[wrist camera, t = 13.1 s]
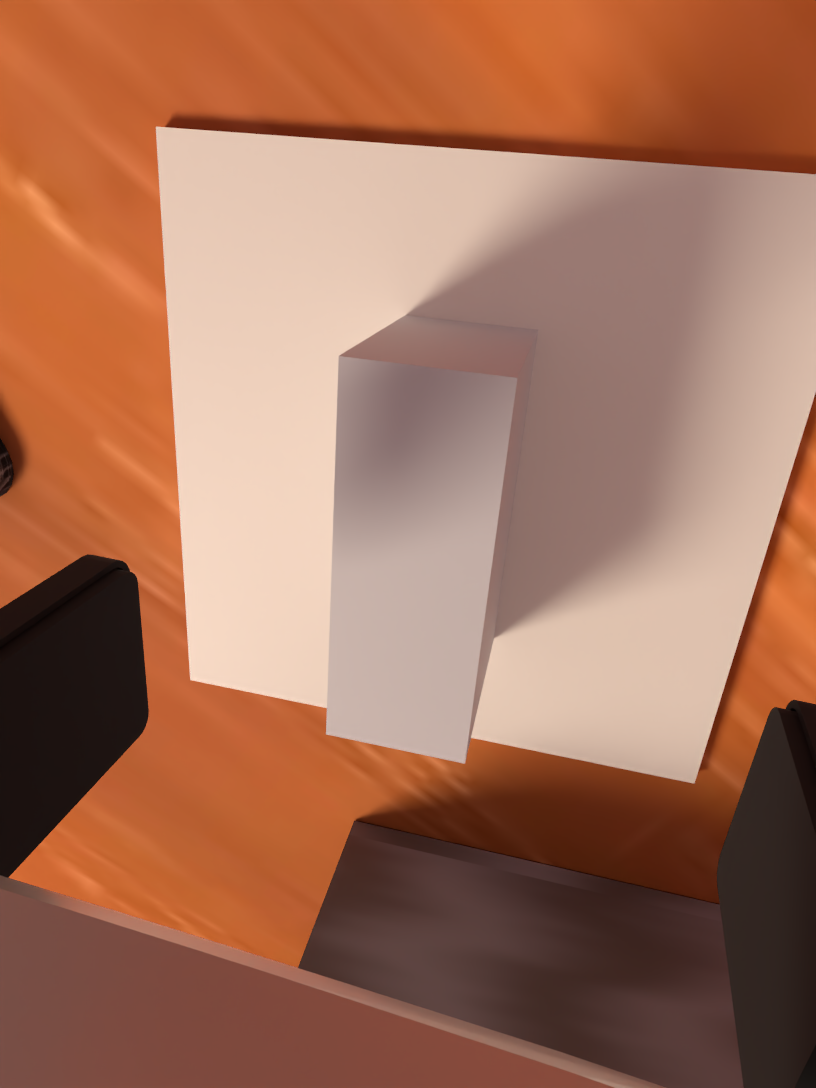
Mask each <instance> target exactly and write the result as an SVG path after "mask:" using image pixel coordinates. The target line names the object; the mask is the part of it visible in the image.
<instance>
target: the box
mask: <svg viewBox="0 0 816 1088" xmlns="http://www.w3.org/2000/svg"><path fill="white" fill-rule="evenodd" d="M298 968H299V969H302V970H306V971H309V972H312V973H315V974H318V975H322V976H325V977H328V978H331V979H334V980H337V981H341V982H344V983H347V984H350V985H353V986H356V987H359V988H363V989H366V990H369V991H372V992H375V993H378V994H381V995H384V996H388V997H391V998H394V999H397V1000H400V1001H403V1002H406V1003H409V1004H412V1005H416V1006H419V1007H422V1008H425V1009H428V1010H431V1011H434V1012H437V1013H441V1014H444V1015H447V1016H450V1017H453V1018H456V1019H459V1020H462V1021H466V1022H469V1023H472V1024H475V1025H478V1026H481V1027H484V1028H487V1029H491V1030H494V1031H497V1032H500V1033H503V1034H506V1035H509V1036H512V1037H516V1038H519V1039H522V1040H525V1041H528V1042H531V1043H534V1044H537V1045H541V1046H544V1047H547V1048H550V1049H553V1050H556V1051H559V1052H562V1053H565V1054H568V1055H571V1056H574V1057H577V1058H580V1059H583V1060H586V1061H589V1062H592V1063H595V1064H598V1065H601V1066H604V1067H607V1068H610V1069H613V1070H615V1071H618V1072H621V1073H624V1074H627V1075H630V1076H633V1077H636V1078H639V1079H642V1080H645V1081H648V1082H651V1083H654V1084H657V1085H660V1086H663V1087H666V1088H744V1087H743V1079H742V1071H741V1063H740V1056H739V1048H738V1040H737V1033H736V1025H735V1017H734V1010H733V1002H732V994H731V987H730V979H729V971H728V963H727V956H726V948H725V940H724V933H723V925H722V917H721V910H720V905H719V904H715V903H710V902H706V901H702V900H697V899H693V898H688V897H684V896H680V895H675V894H671V893H667V892H662V891H658V890H654V889H649V888H645V887H641V886H636V885H632V884H628V883H623V882H619V881H615V880H610V879H606V878H602V877H597V876H593V875H589V874H584V873H580V872H576V871H571V870H567V869H563V868H558V867H554V866H550V865H545V864H541V863H536V862H532V861H528V860H523V859H519V858H515V857H510V856H506V855H502V854H497V853H493V852H489V851H484V850H480V849H476V848H471V847H467V846H463V845H458V844H454V843H450V842H445V841H441V840H437V839H432V838H428V837H424V836H419V835H415V834H411V833H406V832H402V831H398V830H393V829H389V828H385V827H380V826H376V825H371V824H367V823H363V822H358V821H354V823H353V826H352V828H351V831H350V833H349V836H348V839H347V841H346V844H345V846H344V849H343V852H342V854H341V857H340V860H339V862H338V865H337V867H336V870H335V873H334V875H333V878H332V880H331V883H330V886H329V888H328V891H327V894H326V896H325V899H324V901H323V904H322V907H321V909H320V912H319V914H318V917H317V920H316V922H315V925H314V927H313V930H312V933H311V935H310V938H309V941H308V943H307V946H306V948H305V951H304V954H303V956H302V959H301V961H300V964H299V967H298Z"/></svg>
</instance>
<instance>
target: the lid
mask: <svg viewBox="0 0 816 1088" xmlns="http://www.w3.org/2000/svg"><path fill="white" fill-rule="evenodd" d="M156 138H157V154H158V170H159V186H160V202H161V218H162V234H163V250H164V266H165V282H166V298H167V314H168V330H169V346H170V362H171V378H172V394H173V410H174V427H175V443H176V459H177V475H178V491H179V507H180V523H181V539H182V555H183V571H184V587H185V603H186V619H187V635H188V651H189V667H190V680H193V681H198V682H203V683H208V684H213V685H217V686H222V687H227V688H232V689H237V690H242V691H247V692H251V693H256V694H261V695H266V696H271V697H276V698H281V699H285V700H290V701H295V702H300V703H305V704H310V705H315V706H319V707H324V708H327V722H326V734H327V735H332V736H337V737H342V738H346V739H351V740H356V741H360V742H365V743H370V744H375V745H379V746H384V747H389V748H393V749H398V750H403V751H408V752H412V753H417V754H422V755H426V756H431V757H436V758H441V759H445V760H450V761H455V762H459V763H464V764H465V761H466V757H467V752H468V748H469V744H470V739H471V738H475V739H480V740H485V741H489V742H494V743H499V744H504V745H509V746H514V747H519V748H523V749H528V750H533V751H538V752H543V753H548V754H553V755H557V756H562V757H567V758H572V759H577V760H582V761H587V762H591V763H596V764H601V765H606V766H611V767H616V768H621V769H625V770H630V771H635V772H640V773H645V774H650V775H655V776H659V777H664V778H669V779H674V780H679V781H684V782H689V783H693V784H695V780H696V777H697V774H698V771H699V767H700V764H701V761H702V758H703V755H704V751H705V748H706V745H707V742H708V738H709V735H710V732H711V729H712V725H713V722H714V719H715V716H716V713H717V709H718V706H719V703H720V700H721V696H722V693H723V690H724V687H725V684H726V680H727V677H728V674H729V671H730V667H731V664H732V661H733V658H734V654H735V651H736V648H737V645H738V642H739V638H740V635H741V632H742V629H743V625H744V622H745V619H746V616H747V613H748V609H749V606H750V603H751V600H752V596H753V593H754V590H755V587H756V583H757V580H758V577H759V574H760V571H761V567H762V564H763V561H764V558H765V554H766V551H767V548H768V545H769V541H770V538H771V535H772V532H773V529H774V525H775V522H776V519H777V516H778V512H779V509H780V506H781V503H782V500H783V496H784V493H785V490H786V487H787V483H788V480H789V477H790V474H791V470H792V467H793V464H794V461H795V458H796V454H797V451H798V448H799V445H800V441H801V438H802V435H803V432H804V429H805V425H806V422H807V419H808V416H809V412H810V409H811V406H812V403H813V399H814V396H815V393H816V174H805V173H791V172H777V171H763V170H749V169H735V168H722V167H708V166H694V165H680V164H666V163H652V162H639V161H625V160H611V159H597V158H583V157H569V156H556V155H542V154H528V153H514V152H500V151H486V150H473V149H459V148H445V147H431V146H417V145H403V144H389V143H376V142H362V141H348V140H334V139H320V138H306V137H293V136H279V135H265V134H251V133H237V132H223V131H210V130H196V129H182V128H168V127H156Z"/></svg>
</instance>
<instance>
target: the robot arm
mask: <svg viewBox="0 0 816 1088" xmlns="http://www.w3.org/2000/svg"><path fill="white" fill-rule="evenodd" d="M148 711H149V710H148V698H147V686H146V674H145V663H144V651H143V639H142V627H141V615H140V603H139V591H138V582H137V578H136V576H135V574H133V573H132V572H130V570H129V568H128V566H127V564H126V563H124V562H123V561H120V560H115V559H110V558H105V557H100V556H95V555H85V556H83V557H81V558H79V559H78V560H76V561H75V562H73V563H72V564H70V565H68V566H67V567H65V568H64V569H62V570H61V571H59V572H57V573H56V574H54V575H53V576H51V577H50V578H48V579H46V580H45V581H43V582H42V583H40V584H39V585H37V586H35V587H34V588H32V589H31V590H29V591H28V592H26V593H24V594H23V595H21V596H20V597H18V598H17V599H15V600H13V601H12V602H10V603H9V604H7V605H6V606H4V607H2V608H1V609H0V1088H666V1087H663V1086H660V1085H657V1084H654V1083H651V1082H648V1081H645V1080H642V1079H639V1078H636V1077H633V1076H630V1075H627V1074H624V1073H621V1072H618V1071H615V1070H613V1069H610V1068H607V1067H604V1066H601V1065H598V1064H595V1063H592V1062H589V1061H586V1060H583V1059H580V1058H577V1057H574V1056H571V1055H568V1054H565V1053H562V1052H559V1051H556V1050H553V1049H550V1048H547V1047H544V1046H541V1045H537V1044H534V1043H531V1042H528V1041H525V1040H522V1039H519V1038H516V1037H512V1036H509V1035H506V1034H503V1033H500V1032H497V1031H494V1030H491V1029H487V1028H484V1027H481V1026H478V1025H475V1024H472V1023H469V1022H466V1021H462V1020H459V1019H456V1018H453V1017H450V1016H447V1015H444V1014H441V1013H437V1012H434V1011H431V1010H428V1009H425V1008H422V1007H419V1006H416V1005H412V1004H409V1003H406V1002H403V1001H400V1000H397V999H394V998H391V997H388V996H384V995H381V994H378V993H375V992H372V991H369V990H366V989H363V988H359V987H356V986H353V985H350V984H347V983H344V982H341V981H337V980H334V979H331V978H328V977H325V976H322V975H318V974H315V973H312V972H309V971H306V970H302V969H299V968H296V967H293V966H290V965H287V964H283V963H280V962H277V961H274V960H271V959H268V958H264V957H261V956H258V955H255V954H252V953H248V952H245V951H242V950H239V949H236V948H233V947H229V946H226V945H223V944H220V943H217V942H213V941H210V940H207V939H204V938H201V937H197V936H194V935H191V934H188V933H185V932H181V931H178V930H175V929H172V928H169V927H165V926H162V925H159V924H156V923H153V922H149V921H146V920H143V919H140V918H137V917H133V916H130V915H127V914H124V913H121V912H117V911H114V910H111V909H108V908H105V907H101V906H98V905H95V904H91V903H88V902H85V901H82V900H78V899H75V898H72V897H69V896H65V895H62V894H59V893H56V892H52V891H49V890H46V889H43V888H39V887H36V886H33V885H30V884H26V883H23V882H20V881H17V880H13V879H10V878H8V877H9V876H10V875H11V874H12V873H13V872H14V871H15V870H16V869H17V868H18V866H19V865H20V864H21V863H22V862H23V861H24V860H25V859H26V858H27V857H28V856H29V855H30V854H31V852H32V851H33V850H34V849H35V848H36V847H37V846H38V845H39V844H40V843H41V842H42V841H43V840H44V838H45V837H46V836H47V835H48V834H49V833H50V832H51V831H52V830H53V829H54V828H55V827H56V826H57V824H58V823H59V822H60V821H61V820H62V819H63V818H64V817H65V816H66V815H67V814H68V813H69V812H70V810H71V809H72V808H73V807H74V806H75V805H76V804H77V803H78V802H79V801H80V800H81V799H82V798H83V797H84V795H85V794H86V793H87V792H88V791H89V790H90V789H91V788H92V787H93V786H94V785H95V784H96V783H97V781H98V780H99V779H100V778H101V777H102V776H103V775H104V774H105V773H106V772H107V771H108V770H109V769H110V767H111V766H112V765H113V764H114V763H115V762H116V761H117V760H118V759H119V758H120V757H121V756H122V755H123V753H124V752H125V751H126V750H127V749H128V748H129V747H130V746H131V745H132V744H133V743H134V742H135V741H136V739H137V738H138V737H139V736H140V735H141V734H142V732H143V730H144V728H145V726H146V723H147V720H148ZM717 887H718V894H719V902H720V910H721V917H722V925H723V933H724V940H725V948H726V956H727V963H728V971H729V979H730V987H731V994H732V1002H733V1010H734V1017H735V1025H736V1033H737V1040H738V1048H739V1056H740V1063H741V1071H742V1079H743V1087H744V1088H816V704H811V703H807V702H802V701H797V700H793V701H791V702H790V703H789V704H788V705H787V707H786V709H781V708H777V707H775V708H773V709H772V710H771V712H770V714H769V716H768V719H767V722H766V725H765V727H764V730H763V733H762V736H761V739H760V742H759V745H758V748H757V750H756V753H755V756H754V759H753V762H752V765H751V768H750V771H749V773H748V776H747V779H746V782H745V785H744V788H743V791H742V794H741V796H740V799H739V802H738V805H737V808H736V811H735V814H734V817H733V819H732V822H731V825H730V828H729V831H728V834H727V837H726V840H725V842H724V845H723V848H722V851H721V854H720V858H719V862H718V870H717Z"/></svg>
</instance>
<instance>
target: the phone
mask: <svg viewBox="0 0 816 1088" xmlns="http://www.w3.org/2000/svg"><path fill="white" fill-rule="evenodd" d="M13 474H14V473H13V466H12V461H11V459H10V456H9V454H8V451H7V449H6V448H5V446H4V444H3V442H2V440H1V439H0V496H2V495H3V494H5V493H7V491H8V489H9V488H10V486H11V485H12V480H13Z"/></svg>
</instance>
